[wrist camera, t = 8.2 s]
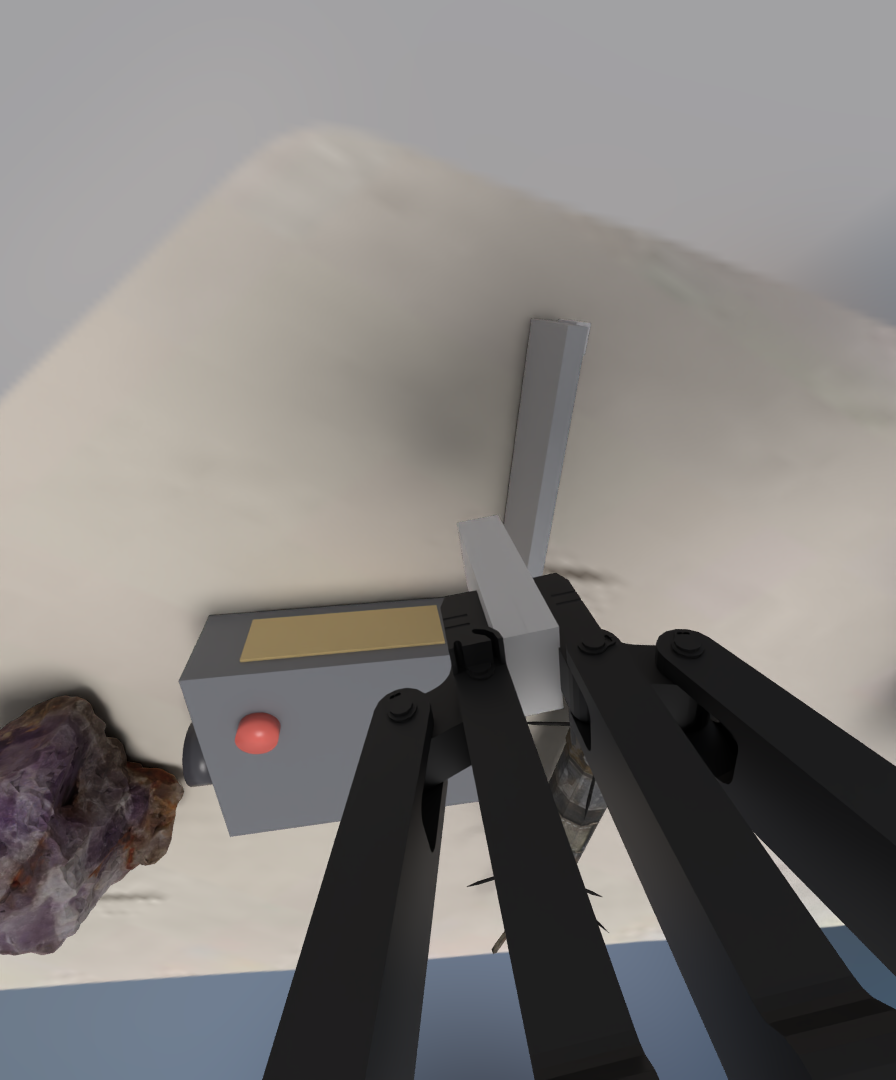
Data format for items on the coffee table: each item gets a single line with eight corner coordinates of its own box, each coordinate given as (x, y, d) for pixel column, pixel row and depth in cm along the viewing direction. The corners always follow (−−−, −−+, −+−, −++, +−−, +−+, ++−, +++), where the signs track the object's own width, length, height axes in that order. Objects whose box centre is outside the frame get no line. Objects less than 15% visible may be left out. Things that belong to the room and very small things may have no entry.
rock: (129, 664, 28) (-46, 710, 28) (34, 776, 20) (-216, 845, 20) (205, 806, 32) (53, 850, 32) (150, 946, 24) (-54, 1009, 24)
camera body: (508, 590, 29) (539, 655, 24) (496, 731, 34) (519, 808, 29) (177, 615, 26) (132, 695, 21) (222, 764, 32) (196, 855, 27)
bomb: (674, 807, 21) (502, 1082, 34) (760, 719, 27) (589, 977, 40) (501, 653, 28) (414, 927, 41) (602, 613, 35) (500, 860, 47)
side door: (517, 591, 29) (542, 641, 25) (492, 592, 28) (514, 642, 24) (560, 318, 22) (605, 325, 18) (529, 316, 22) (567, 322, 18)
